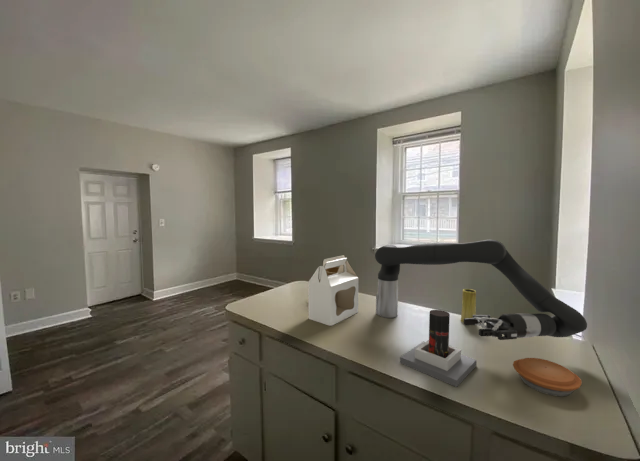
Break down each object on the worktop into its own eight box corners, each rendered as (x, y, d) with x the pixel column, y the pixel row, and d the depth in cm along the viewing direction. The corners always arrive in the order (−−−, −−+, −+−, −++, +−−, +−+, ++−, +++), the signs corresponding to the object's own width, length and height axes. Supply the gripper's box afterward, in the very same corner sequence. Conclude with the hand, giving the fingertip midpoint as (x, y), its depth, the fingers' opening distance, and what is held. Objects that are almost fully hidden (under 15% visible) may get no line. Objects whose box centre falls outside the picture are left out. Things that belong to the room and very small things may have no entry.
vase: (463, 318, 133) (464, 287, 131) (478, 321, 128) (479, 290, 127) (458, 321, 128) (459, 290, 127) (473, 325, 124) (474, 293, 123)
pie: (595, 395, 78) (596, 377, 78) (554, 407, 74) (555, 388, 73) (537, 365, 93) (538, 350, 92) (500, 374, 88) (501, 358, 88)
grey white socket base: (399, 362, 95) (400, 348, 94) (423, 346, 106) (423, 333, 105) (456, 387, 82) (457, 370, 81) (476, 365, 93) (476, 350, 92)
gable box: (330, 326, 124) (330, 262, 122) (307, 319, 133) (307, 258, 130) (358, 312, 141) (359, 255, 139) (337, 306, 149) (337, 252, 147)
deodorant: (450, 363, 90) (451, 317, 89) (430, 361, 91) (431, 315, 90) (445, 354, 96) (447, 310, 95) (427, 352, 97) (428, 309, 96)
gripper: (504, 306, 101) (459, 308, 100) (537, 322, 87) (485, 324, 86) (503, 327, 102) (459, 329, 101) (536, 346, 88) (484, 348, 87)
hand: (471, 327), depth 93 cm, fingers open, 8 cm apart
